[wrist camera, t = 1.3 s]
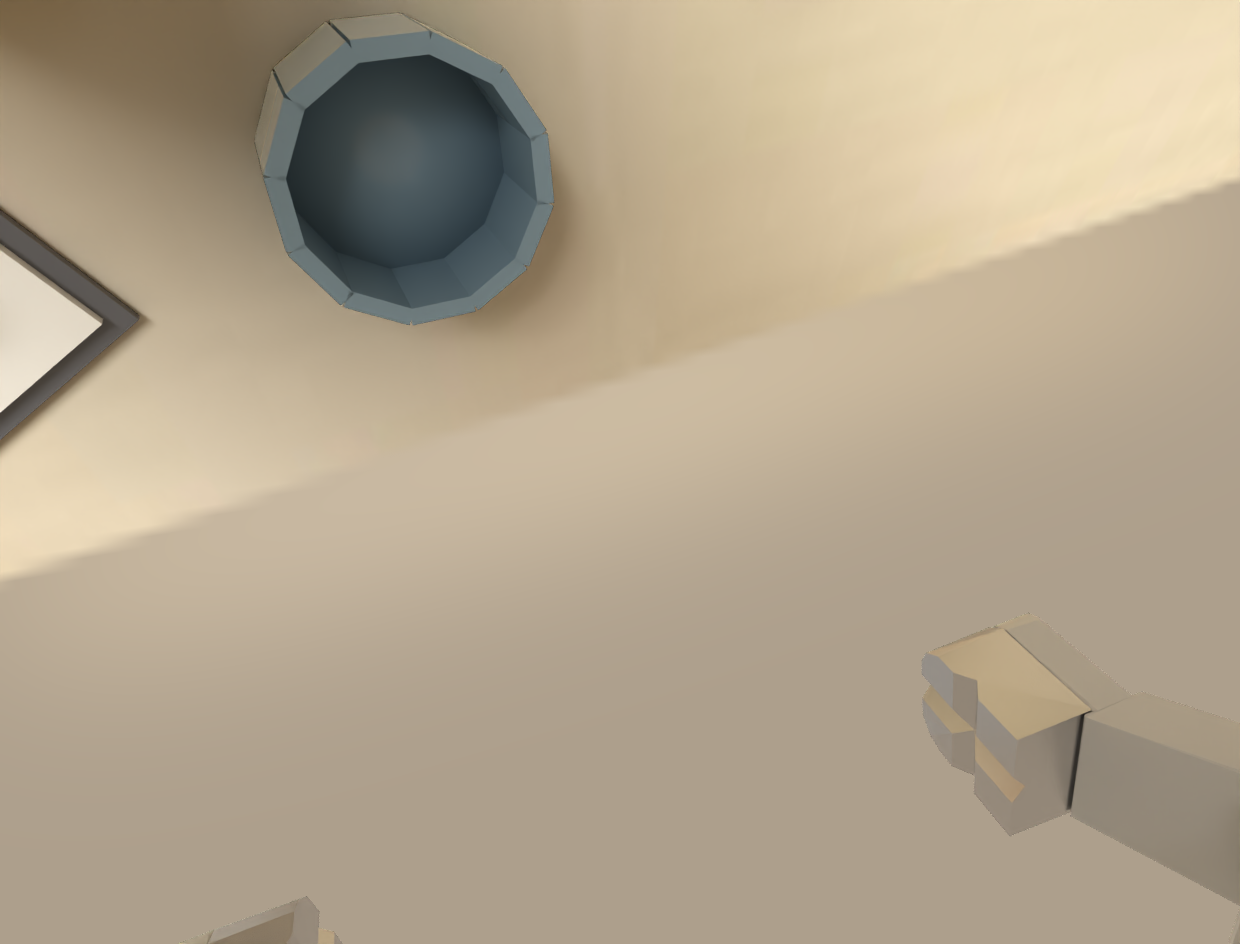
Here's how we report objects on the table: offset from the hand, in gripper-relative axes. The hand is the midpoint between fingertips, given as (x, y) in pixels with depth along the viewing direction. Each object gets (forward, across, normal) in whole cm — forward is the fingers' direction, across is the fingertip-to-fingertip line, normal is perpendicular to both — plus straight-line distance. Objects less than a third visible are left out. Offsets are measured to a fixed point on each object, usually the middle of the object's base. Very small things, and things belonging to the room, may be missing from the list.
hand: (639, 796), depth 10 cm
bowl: (+36, 0, -4) cm, 36 cm away
